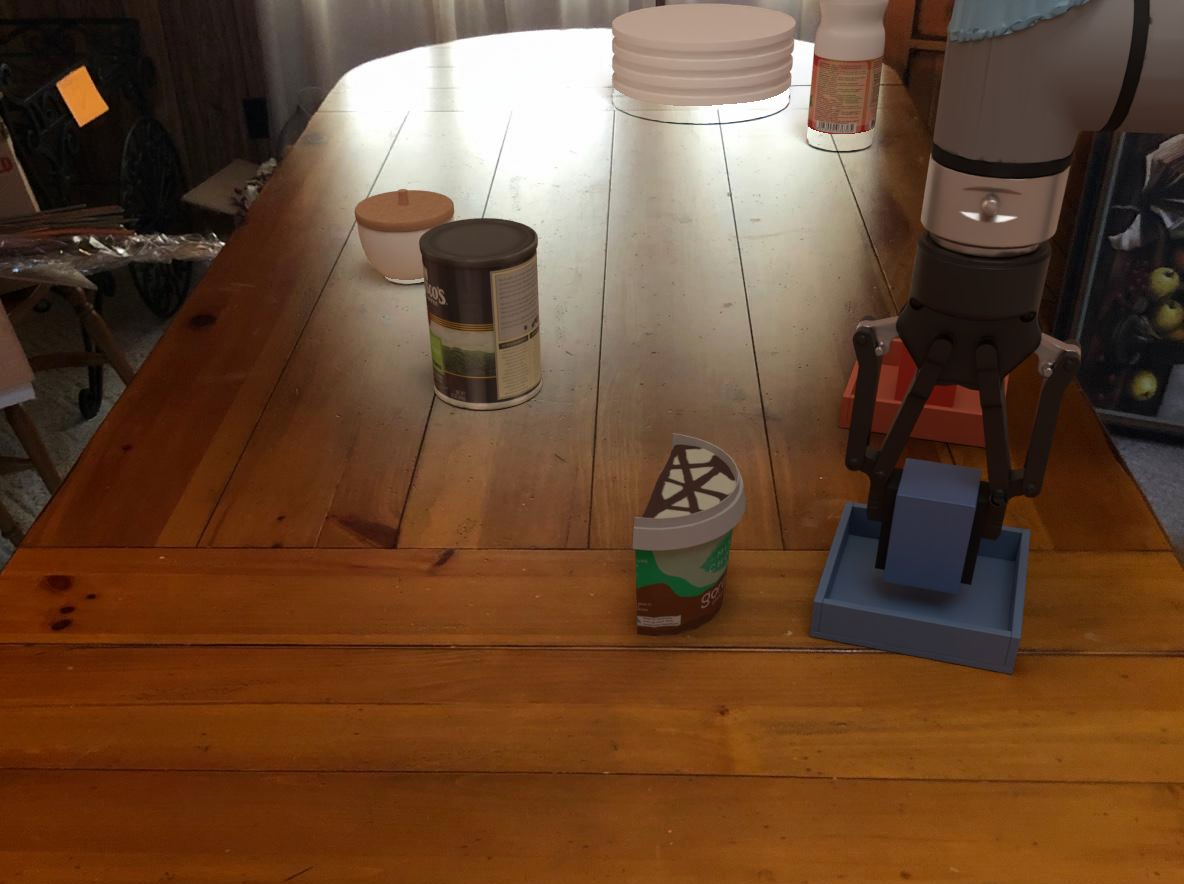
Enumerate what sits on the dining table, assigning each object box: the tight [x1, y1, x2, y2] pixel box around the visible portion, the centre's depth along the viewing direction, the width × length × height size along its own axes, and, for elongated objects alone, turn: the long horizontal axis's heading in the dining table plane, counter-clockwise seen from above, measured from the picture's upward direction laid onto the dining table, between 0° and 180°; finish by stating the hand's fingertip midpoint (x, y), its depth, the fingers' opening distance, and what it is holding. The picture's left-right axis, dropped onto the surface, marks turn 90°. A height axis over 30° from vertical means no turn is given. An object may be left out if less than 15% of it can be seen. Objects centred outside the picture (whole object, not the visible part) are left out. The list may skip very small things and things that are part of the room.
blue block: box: [883, 457, 983, 595], centre depth 82 cm, size 5×5×7 cm
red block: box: [894, 343, 957, 408], centre depth 107 cm, size 5×5×7 cm
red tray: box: [838, 337, 1010, 449], centre depth 108 cm, size 13×13×3 cm
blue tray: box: [809, 501, 1032, 675], centre depth 85 cm, size 13×13×3 cm
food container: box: [632, 432, 747, 636], centre depth 83 cm, size 12×6×10 cm, turn 164°
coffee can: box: [419, 217, 544, 411], centre depth 110 cm, size 10×10×14 cm
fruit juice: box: [807, 0, 890, 134], centre depth 165 cm, size 9×9×28 cm
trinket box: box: [354, 188, 455, 280], centre depth 134 cm, size 11×11×9 cm
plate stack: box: [611, 3, 797, 106], centre depth 190 cm, size 28×28×12 cm
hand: (924, 565), depth 84 cm, fingers closed on blue block, 5 cm apart
